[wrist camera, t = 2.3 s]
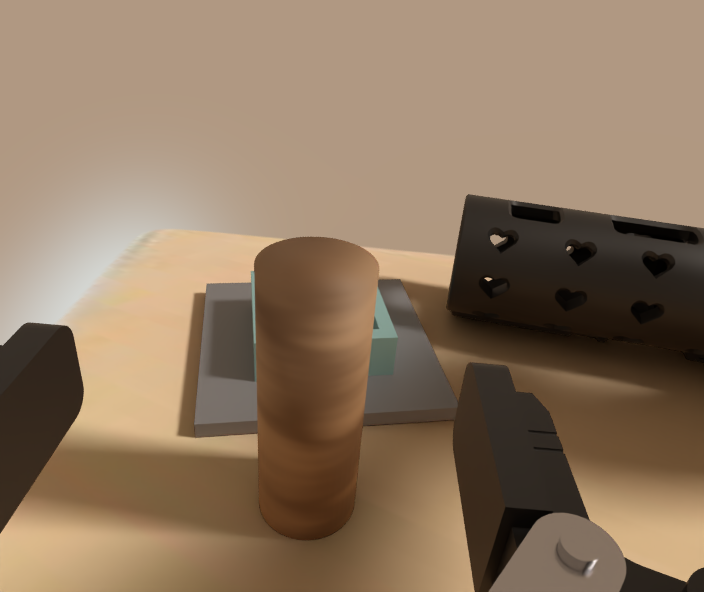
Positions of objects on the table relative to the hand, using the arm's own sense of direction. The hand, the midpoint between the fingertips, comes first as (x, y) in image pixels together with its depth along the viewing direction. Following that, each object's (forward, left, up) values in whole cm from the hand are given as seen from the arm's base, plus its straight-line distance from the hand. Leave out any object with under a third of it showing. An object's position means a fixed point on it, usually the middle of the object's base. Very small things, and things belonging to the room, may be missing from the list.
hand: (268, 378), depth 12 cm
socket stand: (-4, -24, -17) cm, 30 cm away
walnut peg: (-2, -11, -17) cm, 21 cm away
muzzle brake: (-28, -23, -18) cm, 41 cm away
